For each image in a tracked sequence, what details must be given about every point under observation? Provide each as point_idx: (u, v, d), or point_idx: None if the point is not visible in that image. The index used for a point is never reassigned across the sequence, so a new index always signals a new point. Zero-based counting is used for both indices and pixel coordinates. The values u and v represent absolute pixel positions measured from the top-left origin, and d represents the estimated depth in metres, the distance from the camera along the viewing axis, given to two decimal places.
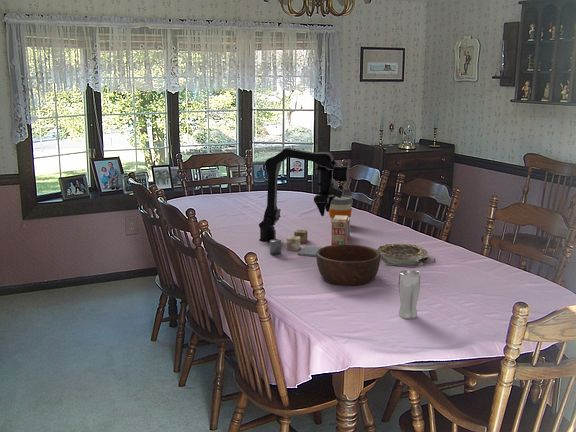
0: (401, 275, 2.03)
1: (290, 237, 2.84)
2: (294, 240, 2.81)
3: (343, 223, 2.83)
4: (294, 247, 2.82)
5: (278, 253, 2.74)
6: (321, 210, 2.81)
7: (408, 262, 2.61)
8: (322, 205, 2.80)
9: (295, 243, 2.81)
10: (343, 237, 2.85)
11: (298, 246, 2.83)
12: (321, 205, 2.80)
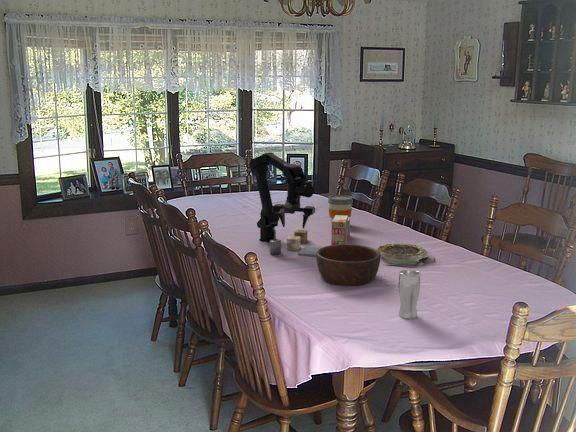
0: (401, 275, 2.03)
1: (290, 237, 2.84)
2: (294, 240, 2.81)
3: (343, 223, 2.83)
4: (294, 247, 2.82)
5: (278, 253, 2.74)
6: None
7: (408, 262, 2.61)
8: None
9: (295, 243, 2.81)
10: (343, 237, 2.85)
11: (298, 246, 2.83)
12: None
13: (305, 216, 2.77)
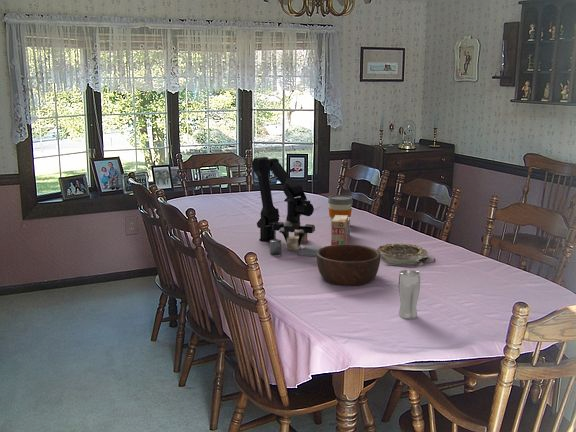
0: (401, 275, 2.03)
1: (290, 237, 2.84)
2: (294, 240, 2.81)
3: (343, 223, 2.84)
4: (294, 247, 2.82)
5: (278, 253, 2.74)
6: None
7: (408, 262, 2.61)
8: None
9: (295, 243, 2.81)
10: (343, 237, 2.85)
11: (298, 246, 2.83)
12: None
13: (301, 234, 2.79)
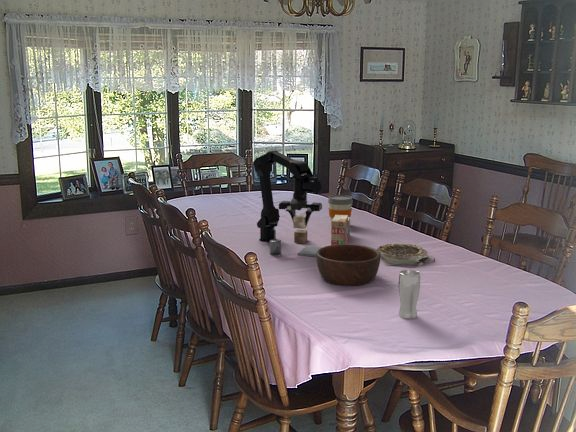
0: (401, 275, 2.03)
1: (297, 216, 2.79)
2: (301, 218, 2.76)
3: (343, 223, 2.84)
4: (301, 226, 2.77)
5: (278, 253, 2.74)
6: None
7: (408, 262, 2.61)
8: None
9: (302, 222, 2.76)
10: (343, 236, 2.85)
11: (305, 225, 2.78)
12: None
13: (308, 212, 2.75)
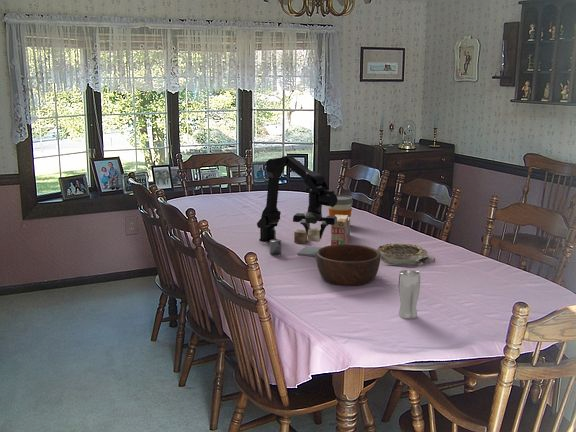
0: (401, 275, 2.03)
1: (311, 228, 2.75)
2: (315, 231, 2.73)
3: (343, 222, 2.84)
4: (315, 239, 2.73)
5: (278, 253, 2.74)
6: None
7: (408, 262, 2.61)
8: None
9: (317, 235, 2.73)
10: (343, 236, 2.86)
11: (319, 238, 2.75)
12: None
13: (323, 226, 2.71)
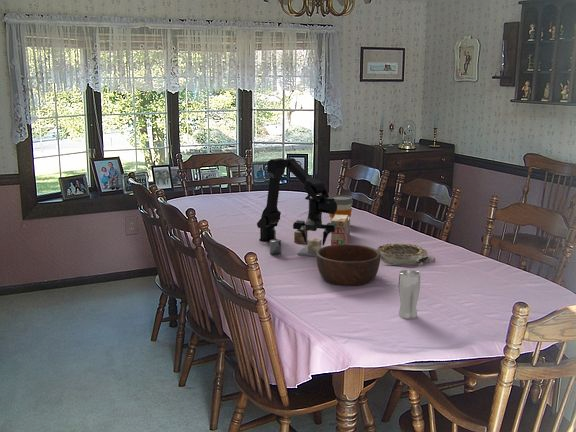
0: (401, 275, 2.03)
1: (311, 239, 2.77)
2: (315, 242, 2.74)
3: (343, 222, 2.84)
4: (315, 249, 2.75)
5: (278, 253, 2.74)
6: None
7: (408, 262, 2.61)
8: None
9: (317, 246, 2.74)
10: (343, 236, 2.86)
11: (319, 248, 2.76)
12: None
13: (325, 233, 2.72)
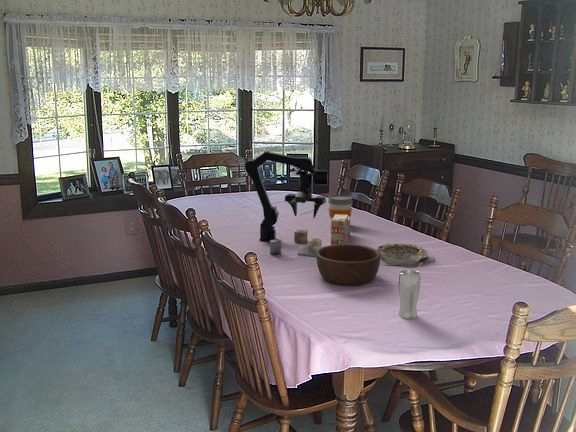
0: (401, 275, 2.03)
1: (311, 239, 2.77)
2: (315, 242, 2.74)
3: (342, 222, 2.85)
4: (315, 249, 2.75)
5: (278, 253, 2.74)
6: None
7: (408, 262, 2.61)
8: None
9: (317, 246, 2.74)
10: (342, 236, 2.86)
11: (319, 248, 2.76)
12: None
13: (316, 206, 2.88)
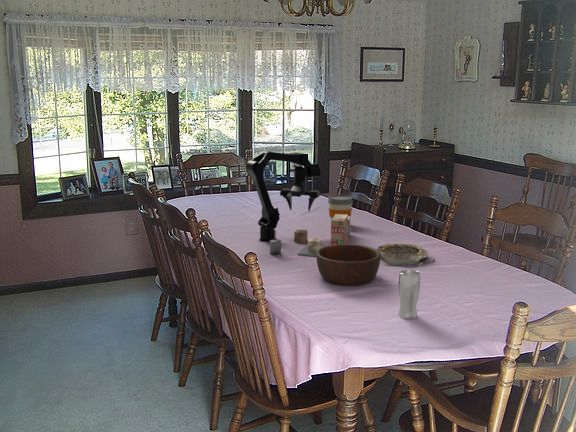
0: (401, 275, 2.03)
1: (311, 239, 2.77)
2: (315, 242, 2.74)
3: (342, 222, 2.85)
4: (315, 249, 2.75)
5: (278, 253, 2.74)
6: None
7: (408, 262, 2.61)
8: None
9: (317, 246, 2.74)
10: (342, 236, 2.87)
11: (319, 248, 2.76)
12: None
13: (311, 199, 3.00)
